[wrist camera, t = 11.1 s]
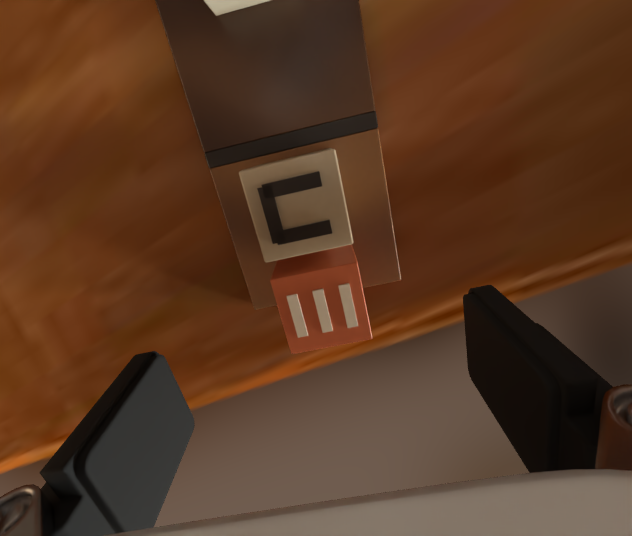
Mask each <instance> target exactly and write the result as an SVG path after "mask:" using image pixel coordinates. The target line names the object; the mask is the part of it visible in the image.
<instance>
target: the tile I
mask: <svg viewBox="0 0 632 536" xmlns="http://www.w3.org/2000/svg"><path fill="white" fill-rule="evenodd" d="M267 1H271V0H204V2H205V3H206V4H207V5H208V7H209V8H210V9H211V10H212V12H213V13H214V14H215V15H216V16H217V15H221V14H225V13H228V12H232V11H235V10H239V9H242V8H246V7H249V6H253V5H256V4H260V3H264V2H267Z"/></svg>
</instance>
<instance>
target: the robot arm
mask: <svg viewBox="0 0 632 536" xmlns="http://www.w3.org/2000/svg"><path fill="white" fill-rule="evenodd" d="M463 305H464V319H465V333H466V346H467V360H468V371H469V374H470V377H471V380H472V381H473V383H474V384H475V386H476V388H477V389H478V391H479V392H480V394H481V396H482V397H483V399H484V401H485V402H486V404H487V405H488V407H489V408H490V410H491V412H492V413H493V415H494V417H495V418H496V420H497V421H498V423H499V424H500V426H501V428H502V429H503V431H504V433H505V434H506V436H507V437H508V439H509V441H510V442H511V444H512V445H513V446H514V449H515V450H516V452H517V453H518V455H519V456H520V458H521V459H522V461H523V463H524V464H525V466H526V468H527V469H528V471H529V472H530V473H526V474H517V475H510V476H502V477H494V478H486V479H478V480H471V481H462V482H454V483H447V484H440V485H434V486H426V487H420V488H413V489H406V490H399V491H393V492H385V493H378V494H371V495H365V496H357V497H351V498H344V499H337V500H330V501H324V502H317V503H310V504H304V505H298V506H291V507H284V508H277V509H271V510H264V511H257V512H251V513H244V514H237V515H231V516H225V517H218V518H212V519H205V520H199V521H192V522H186V523H180V524H174V525H167V526H160V527H154V525H155V522H156V520H157V517H158V515H159V512H160V510H161V507H162V505H163V503H164V500H165V498H166V495H167V493H168V490H169V488H170V485H171V483H172V481H173V478H174V476H175V473H176V471H177V469H178V466H179V464H180V461H181V459H182V456H183V454H184V451H185V449H186V447H187V444H188V442H189V439H190V437H191V435H192V432H193V429H194V418H193V415H192V413H191V411H190V409H189V407H188V405H187V403H186V401H185V399H184V397H183V394H182V392H181V390H180V388H179V386H178V384H177V382H176V380H175V378H174V376H173V373H172V371H171V369H170V367H169V365H168V363H167V361H166V359H165V357H164V356H163V355H159V353H157V352H155V351H152V352H147V353H142V354H138V355H135V356H134V357H133V358H132V359H131V361H130V362H129V363H128V364H127V366H126V367H125V368H124V369H123V370H122V372H121V373H120V374H119V375H118V377H117V378H116V379H115V380H114V382H113V383H112V384H111V385H110V387H109V388H108V389H107V390H106V391H105V393H104V394H103V395H102V396H101V398H100V399H99V400H98V401H97V403H96V404H95V405H94V406H93V407H92V409H91V410H90V411H89V412H88V414H87V415H86V416H85V417H84V419H83V420H82V421H81V422H80V423H79V425H78V426H77V427H76V428H75V430H74V431H73V432H72V433H71V435H70V436H69V437H68V438H67V440H66V441H65V442H64V443H63V444H62V446H61V447H60V448H59V449H58V451H57V452H56V453H55V454H54V456H53V457H52V458H51V459H50V460H49V462H48V463H47V464H46V465H45V467H44V468H43V469H42V470H41V472H40V474H41V475H42V477H43V478H44V479H45V481H46V483H45V485H44V486H43V487H42V488H41V489H40V488H39V487H38V486H36V485H24V486H22V487H19V488H16V489H14V490H12V491H10V492H8V493H6V494H4V495H3V496H2V497H0V536H632V385H620V386H616V387H612V386H611V385H610V384H609V383H608V382H607V381H605V380H604V379H603V378H602V377H601V376H600V375H598V374H597V373H596V372H595V371H594V370H593V369H591V368H590V367H589V366H588V365H587V364H586V363H585V362H583V361H582V360H581V359H580V358H579V357H578V356H576V355H575V354H574V353H573V352H572V351H571V350H569V349H568V348H567V347H566V346H565V345H564V344H562V343H561V342H560V341H559V340H558V339H557V338H555V337H554V336H553V335H552V334H551V333H550V332H548V331H547V330H546V329H545V328H544V327H543V326H541V325H539V324H537V323H534V322H533V321H532V320H531V319H530V318H529V317H528V316H526V315H525V314H524V313H523V312H522V311H521V310H520V309H518V308H517V307H516V306H515V305H514V304H513V303H512V302H510V301H509V300H508V299H507V298H506V297H505V296H504V295H502V294H501V293H500V292H499V291H498V290H497V289H496V288H494V287H493V286H492V285H486V286H481V287H476V288H471V289H470V290H469V293H468V294H466V295H464V296H463ZM153 527H154V528H153Z"/></svg>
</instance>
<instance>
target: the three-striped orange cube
mask: <svg viewBox="0 0 632 536" xmlns="http://www.w3.org/2000/svg"><path fill="white" fill-rule="evenodd" d="M270 282H271V286H272V289H273V292H274V296H275V299H276V303H277V306H278V309H279V313H280V316H281V320H282V323H283V326H284V330H285V333H286V337H287V340H288V343H289V347H290V350H291V353H292V354H295V353H300V352H305V351H310V350H316V349H321V348H326V347H331V346H337V345H342V344H347V343H353V342H358V341H363V340H368V339H372V333H371V328H370V323H369V318H368V313H367V308H366V303H365V298H364V293H363V287H362V282H361V277H360V272H359V267H358V262H357V259H356V256H355V253H354V250H353V247H352V244H351V245H346V246H341V247H337V248H332V249H327V250H323V251H318V252H313V253H309V254H304V255H299V256H295V257H290V258H285V259H281V260H277V263H276V266H275V268H274V271H273V274H272V277H271V279H270Z"/></svg>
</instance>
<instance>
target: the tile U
mask: <svg viewBox="0 0 632 536" xmlns="http://www.w3.org/2000/svg"><path fill="white" fill-rule="evenodd" d="M239 176H240V180H241V183H242V186H243V190H244V193H245V197H246V200H247V203H248V207H249V210H250V214H251V217H252V220H253V224H254V227H255V231H256V234H257V237H258V241H259V244H260V248H261V251H262V254H263V258H264V261H265V262H271V261H276V260H281V259H285V258H290V257H295V256H299V255H304V254H309V253H313V252H318V251H323V250H327V249H332V248H337V247H341V246H346V245H351V244H353V237H352V232H351V227H350V221H349V216H348V211H347V206H346V201H345V196H344V191H343V186H342V181H341V175H340V170H339V165H338V160H337V155H336V150H335V149H332V148H328V149H324V150H319V151H315V152H311V153H307V154H303V155H299V156H294V157H290V158H286V159H282V160H278V161H274V162H269V163H265V164H261V165H257V166H254V167H251V168H248V169H245V170H242V171H240V172H239Z"/></svg>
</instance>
